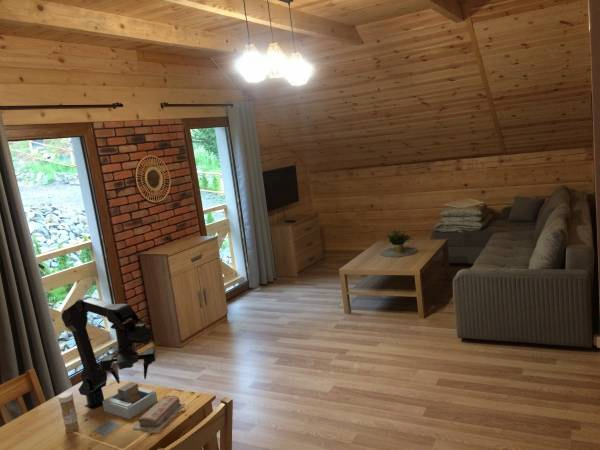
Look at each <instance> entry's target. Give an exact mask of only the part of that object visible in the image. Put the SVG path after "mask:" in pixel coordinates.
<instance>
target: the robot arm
mask: <svg viewBox="0 0 600 450" xmlns="http://www.w3.org/2000/svg"><path fill="white" fill-rule="evenodd" d="M88 313H92V314H95V315H98V316H101V317H105V318H106V319H107V321H108V322H109V323H111V324H112V325H111V326H110V329H112V330H114V331H115V335H116V341H117V350H118V352H117V357H115V356H114V354H109V355H103V356H102V357H101V360H100V362H99V363H98V361H97V358H96V356H95V352H94V349H93V346H92V342H91V339H90V336H89V333H88V330H87V325H88V321H89V317H88ZM61 320H62V322H63V325H64V326H65V328H67V329H68V330H69V331H71V334H72V336H73V339H74V342H75V346H76V349H77V352H78V355H79V357H80V361H81V363H82V367H83V369H82V372H81V381H82V383H81V385H80V386H79V387H78V391H79V394H80V396H85V398H86V399H85V400H86V404H85V405H84V406H83V407H85V408H89V409H91V410H96V409H97V408H100V407H101V406H103V402H102V401H104V400H105V396H104V392H103V388H104V387H106V386H107V381H108V374H107V372H110V374H112V376H113V377H114V380H115V381H116V383H117V384H120V383H121V381H120V375H119V370H124V369H132V368H133V367H134V365H135V364H136V363H138V362H139V361H140V360H141V361H142V360H143V377H144V380H146V379H147V374H148V369H149V366H150V365H151V364H152V363H154V362H156V361H157V360H156V359H157V350H156V349H155V348H150V349H144V350H143V353H138V351H137V348H136V344H140V345H148V344H149V342H151V340H152V335H153V333H152V331H151V328H150V327H148V326H147V324H145V323H141V319H140V318H139V315H137V314H136V312H135V310H134V309H133V308H132V306H131V305H130V304H128V303H115V304H114V303H109V302H106V301H102V300H99V299H96V298H93V297H91V296H89V295H88V296H84V297H81V298H79V299H77V300H76V301H75V302H74V303H73V304H72V305H70V306H69V307H68V308H66V309H64V310H63V311H62V313H61ZM129 320H130V321H129ZM118 369H119V370H118Z"/></svg>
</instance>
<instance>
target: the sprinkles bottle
mask: <svg viewBox="0 0 600 450" xmlns="http://www.w3.org/2000/svg"><path fill="white" fill-rule="evenodd" d="M58 402H59V403H60V408H61V414H62V419H63V423H64V427H65V432H66V433H67V434H68V433H73V432H74V433H75V431H76V430H78V428H79V427H80V425H79V422H78V421H79V420H78V416H77V410H76V406H75V402H74V394H73V392H72V391H65V392H63V393H61V394H60V395H58Z"/></svg>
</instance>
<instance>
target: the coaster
mask: <svg viewBox="0 0 600 450" xmlns="http://www.w3.org/2000/svg"><path fill="white" fill-rule="evenodd" d="M121 426H122V424H120V423H117V422H114V421H111V420H107V421H106V422H105V423H103V424H101V425H99V426H98V427H95V429H93V430H92V431H91V432H92V433H96V434H98V435H100V436H107V435H108V434H110V433H112V432H113V431H114V430H116V429H118V428H119V427H121Z"/></svg>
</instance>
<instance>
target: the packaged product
mask: <svg viewBox="0 0 600 450" xmlns="http://www.w3.org/2000/svg"><path fill="white" fill-rule="evenodd" d="M185 406H186V404H185V403H181V400H180V397H178V396H176V395H166V394H165V395H164V396H163V397H162V398H161V399H160V400H159V401H158V400H157V402H156V403H154V404H153V406H150V407H151V408H149V409H148V410H147V411H146V412H145V413H144V414H142V415H141V416H140V417H139V418H138V422H137V424H135V425H134V426H133V427H132V430H136V431H145V432H146V433H151V434H159V433H160V431H161V430H163V428H164V427H165V426H167V425H168V424H169V423H170V422H171V421H172V420H173V419H174V418H175V417H176V416H177V415H178V414H179V413H180V412H181V410H183V409H184V408H185Z"/></svg>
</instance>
